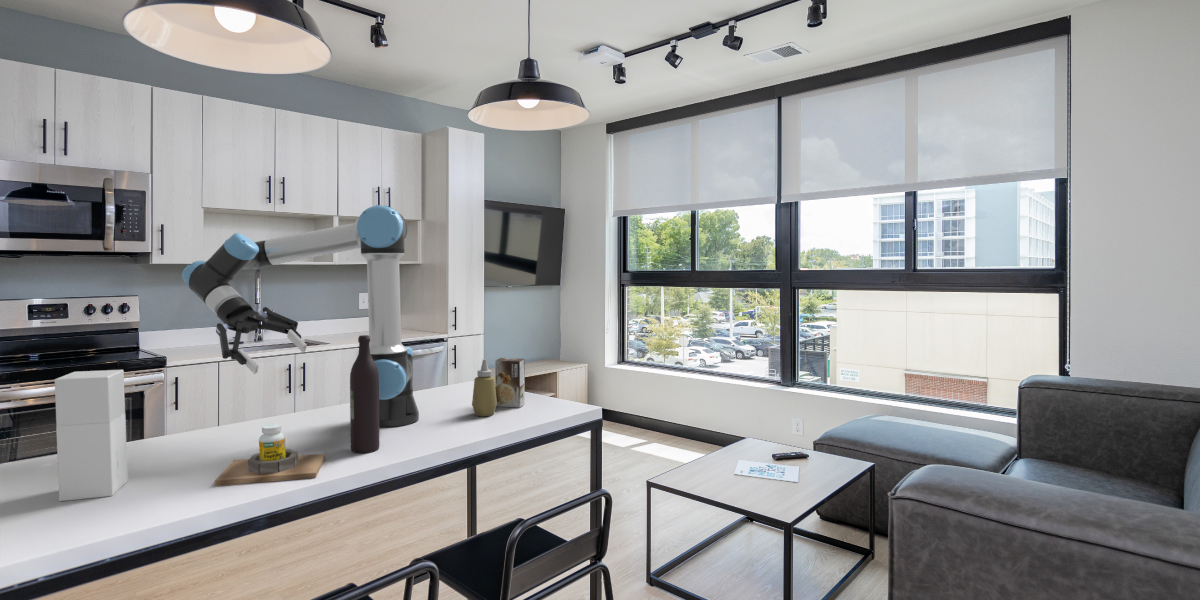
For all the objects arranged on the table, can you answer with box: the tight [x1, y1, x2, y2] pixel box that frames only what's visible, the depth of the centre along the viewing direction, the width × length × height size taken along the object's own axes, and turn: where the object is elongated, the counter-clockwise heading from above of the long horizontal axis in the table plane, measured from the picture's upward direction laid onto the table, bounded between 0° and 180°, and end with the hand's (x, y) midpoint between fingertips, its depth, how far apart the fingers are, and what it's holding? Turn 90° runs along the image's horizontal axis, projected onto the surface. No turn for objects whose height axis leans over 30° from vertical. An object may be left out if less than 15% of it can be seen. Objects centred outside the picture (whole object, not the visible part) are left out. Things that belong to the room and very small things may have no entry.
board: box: [214, 448, 326, 487], centre depth 139 cm, size 20×14×4 cm
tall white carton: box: [54, 369, 128, 502], centre depth 125 cm, size 9×9×25 cm
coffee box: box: [494, 357, 526, 408], centre depth 207 cm, size 9×6×16 cm
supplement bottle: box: [258, 423, 287, 462], centre depth 139 cm, size 5×5×10 cm
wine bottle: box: [349, 334, 380, 454], centre depth 155 cm, size 7×7×30 cm
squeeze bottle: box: [471, 358, 497, 417], centre depth 193 cm, size 8×8×18 cm
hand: (281, 359), depth 154 cm, fingers open, 13 cm apart
